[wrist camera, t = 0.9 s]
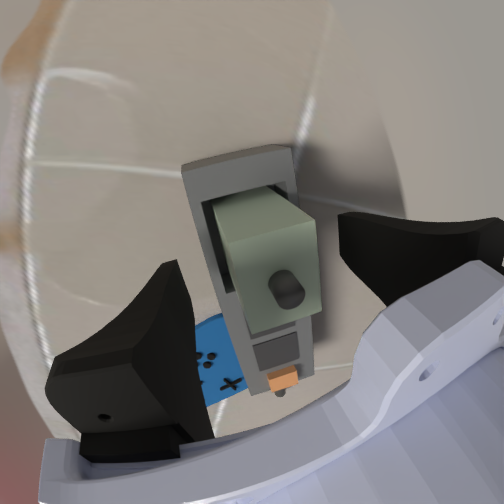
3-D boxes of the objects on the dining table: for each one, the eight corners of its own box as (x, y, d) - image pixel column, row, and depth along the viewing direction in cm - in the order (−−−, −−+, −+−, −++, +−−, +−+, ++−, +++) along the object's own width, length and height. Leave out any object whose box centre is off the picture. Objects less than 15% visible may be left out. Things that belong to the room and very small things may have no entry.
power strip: (303, 382, 24) (318, 410, 21) (253, 398, 23) (263, 429, 20) (271, 144, 15) (295, 148, 11) (181, 165, 14) (181, 174, 11)
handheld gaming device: (290, 368, 22) (154, 430, 22) (286, 359, 23) (153, 421, 23) (243, 306, 18) (89, 388, 18) (239, 297, 19) (91, 378, 19)
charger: (276, 251, 16) (332, 325, 10) (227, 265, 16) (258, 351, 10) (265, 185, 14) (328, 230, 8) (209, 199, 14) (233, 256, 8)
